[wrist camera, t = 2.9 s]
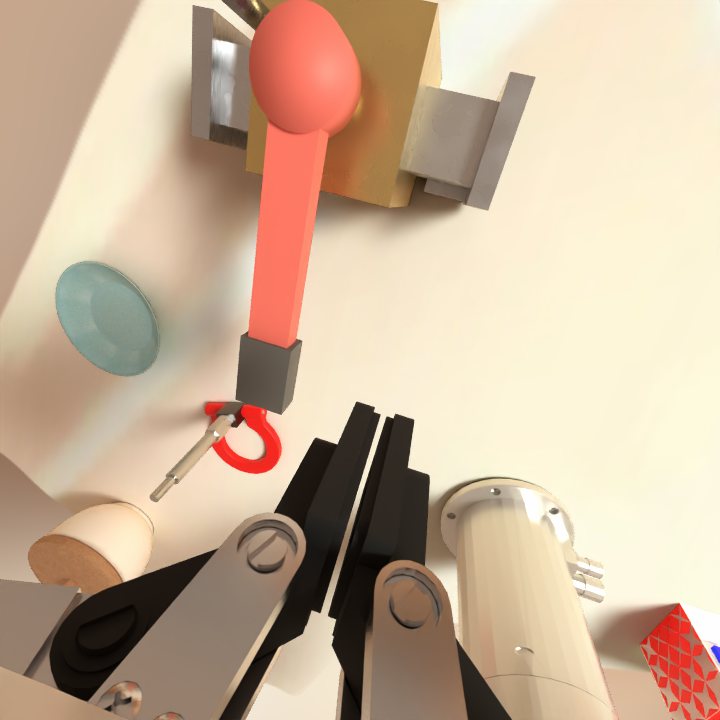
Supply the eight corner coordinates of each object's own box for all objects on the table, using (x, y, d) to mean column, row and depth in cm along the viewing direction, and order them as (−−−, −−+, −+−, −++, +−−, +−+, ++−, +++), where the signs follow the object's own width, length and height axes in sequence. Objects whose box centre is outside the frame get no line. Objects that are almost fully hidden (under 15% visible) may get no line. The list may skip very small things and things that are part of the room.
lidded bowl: (134, 560, 55) (67, 637, 46) (77, 500, 52) (-8, 569, 43) (187, 542, 51) (124, 624, 41) (127, 475, 48) (44, 547, 38)
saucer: (61, 316, 40) (40, 322, 38) (96, 232, 34) (74, 234, 32) (147, 387, 41) (132, 396, 39) (193, 315, 36) (178, 322, 34)
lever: (277, 15, 15) (253, -11, 13) (371, 34, 14) (360, 11, 12) (243, 380, 22) (225, 396, 20) (304, 400, 22) (291, 418, 20)
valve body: (517, 94, 23) (591, -22, 11) (472, 222, 27) (493, 239, 15) (260, 38, 25) (88, -112, 13) (250, 165, 29) (107, 139, 17)
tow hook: (289, 470, 42) (273, 401, 38) (229, 578, 30) (197, 497, 26) (225, 463, 44) (204, 398, 40) (146, 562, 32) (105, 485, 28)
